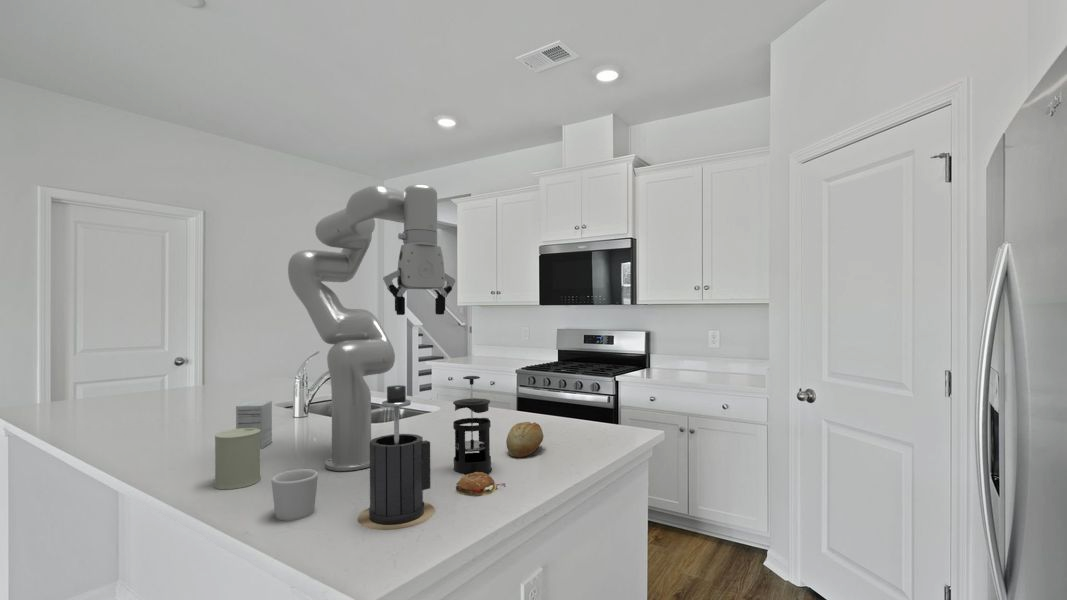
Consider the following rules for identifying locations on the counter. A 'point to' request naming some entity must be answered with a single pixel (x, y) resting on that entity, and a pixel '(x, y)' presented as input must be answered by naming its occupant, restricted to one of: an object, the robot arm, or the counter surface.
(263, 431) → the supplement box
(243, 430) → the can
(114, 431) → the counter surface
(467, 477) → the hamburger
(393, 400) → the plunger
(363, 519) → the trivet
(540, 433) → the bread roll
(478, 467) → the french press
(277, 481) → the cup
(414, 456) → the dark slatted tankard
